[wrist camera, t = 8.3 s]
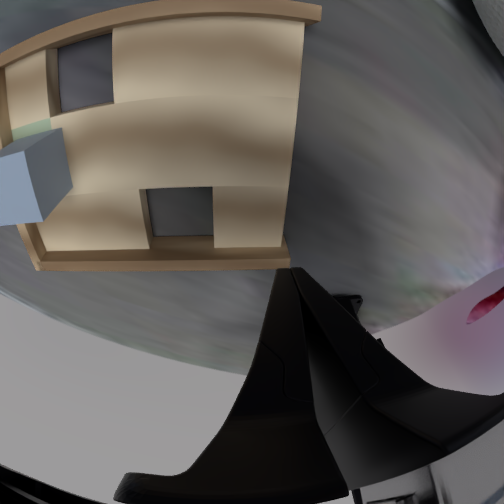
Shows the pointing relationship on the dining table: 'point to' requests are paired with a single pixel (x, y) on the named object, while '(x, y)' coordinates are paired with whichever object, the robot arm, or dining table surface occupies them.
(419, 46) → the dining table surface
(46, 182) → the slate block
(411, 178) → the dining table surface
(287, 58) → the tray
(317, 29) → the dining table surface
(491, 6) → the cereal bowl
